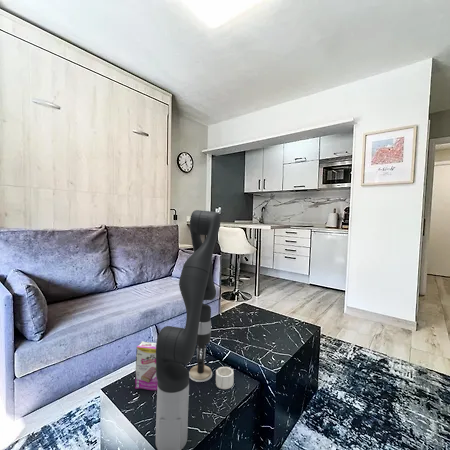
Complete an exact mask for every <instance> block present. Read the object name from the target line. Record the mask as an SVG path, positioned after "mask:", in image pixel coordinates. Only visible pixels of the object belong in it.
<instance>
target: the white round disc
mask: <svg viewBox="0 0 450 450" xmlns="http://www.w3.org/2000/svg"><path fill="white" fill-rule="evenodd" d="M212 377H213V371H212V370H211V375H210V376H209V377H208V378H206V379H201V380H199V379H194V378H193V377H191V375H190V371H189V380H192V381H193V382H197V383H201V382H202V383H203V382H207V381H209V380H210V379H211V378H212Z"/></svg>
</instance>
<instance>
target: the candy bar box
mask: <svg viewBox="0 0 450 450" xmlns="http://www.w3.org/2000/svg"><path fill="white" fill-rule="evenodd" d="M135 351H136V355H135V374H134V375H135V376H134V389H137V390H145V391H154V392H155V391H156V392H157V385H158V380H157V377H156V342H151V341H141V342H140V343H139V344H138V345H136V350H135Z"/></svg>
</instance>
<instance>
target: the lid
mask: <svg viewBox="0 0 450 450" xmlns="http://www.w3.org/2000/svg"><path fill="white" fill-rule="evenodd" d="M196 362H197V363H198V361H196ZM204 363H205V360H204ZM211 371H212V369H211V368H210V367H209V366H207V365H205V364H204V365H203V373H198V364H197V365H195V366H194V365H193V366H192V367H191V368H190V369H189V372H190V375H191V377H193V378H194V379H199V380H201V379H206V378H208V377H209V376H210V375H211Z"/></svg>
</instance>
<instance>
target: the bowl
mask: <svg viewBox="0 0 450 450" xmlns="http://www.w3.org/2000/svg"><path fill="white" fill-rule="evenodd" d="M234 375H235V374H234V369H233V368H231V367H229V366H220V367H218V368H217V369H216V370H215V386H216V387H217V388H218V389H221V390H229V389H231V388H232V387H234V380H235V379H234V378H235V376H234Z"/></svg>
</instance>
